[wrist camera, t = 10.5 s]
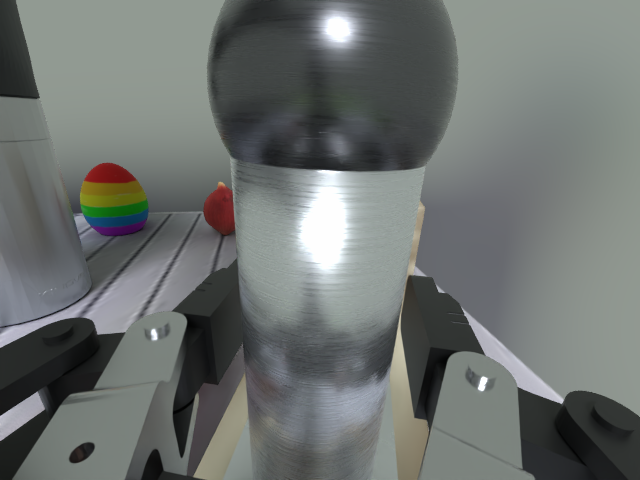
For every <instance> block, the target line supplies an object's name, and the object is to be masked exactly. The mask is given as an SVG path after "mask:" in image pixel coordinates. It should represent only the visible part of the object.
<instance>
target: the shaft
mask: <svg viewBox="0 0 640 480" xmlns="http://www.w3.org/2000/svg"><path fill="white" fill-rule="evenodd" d="M207 82H208V94H209V100H210V106H211V110H212V114H213V117H214V121H215V125H216V127H217V130H218V132H219V135H220V137H221V140H222V142H223V144H224V146H225V147H226V149H227V151H228V153H229V154H230V161H231V175H232V189H233V204H234V218H235V232H236V247H237V261H238V276H239V290H240V304H241V319H242V333H243V347H244V362H245V376H246V390H247V405H248V419H247V422H246V424H245V427H244V429H243V431H242V434H241V436H240V439H239V441H238V444H237V446H236V449H235V451H234V453H233V456H232V458H231V461H230V463H229V466H228V468H227V471H226V473H225V475H224V478H223V480H398V473H397V461H396V449H395V437H394V425H393V413H392V401H391V389H390V377H389V376H390V371H391V365H392V359H393V353H394V347H395V341H396V336H397V330H398V324H399V318H400V312H401V306H402V301H403V295H404V289H405V283H406V277H407V271H408V266H409V260H410V254H411V248H412V242H413V236H414V231H415V225H416V219H417V213H418V207H419V201H420V195H421V189H422V184H423V178H424V172H425V166H426V164H427V162H428V161H429V160H430V158H431V157H432V155H433V154H434V153H435V151H436V149H437V147H438V145H439V144H440V142H441V140H442V138H443V136H444V134H445V131H446V128H447V126H448V123H449V121H450V118H451V115H452V111H453V107H454V103H455V99H456V91H457V83H458V55H457V47H456V40H455V36H454V32H453V29H452V25H451V21H450V18H449V15H448V12H447V10H446V8H445V5H444V3H443V1H442V0H226V1H225V2H224V4H223V6H222V8H221V11H220V13H219V16H218V18H217V21H216V24H215V26H214V29H213V33H212V38H211V42H210V46H209V54H208V64H207Z"/></svg>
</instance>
